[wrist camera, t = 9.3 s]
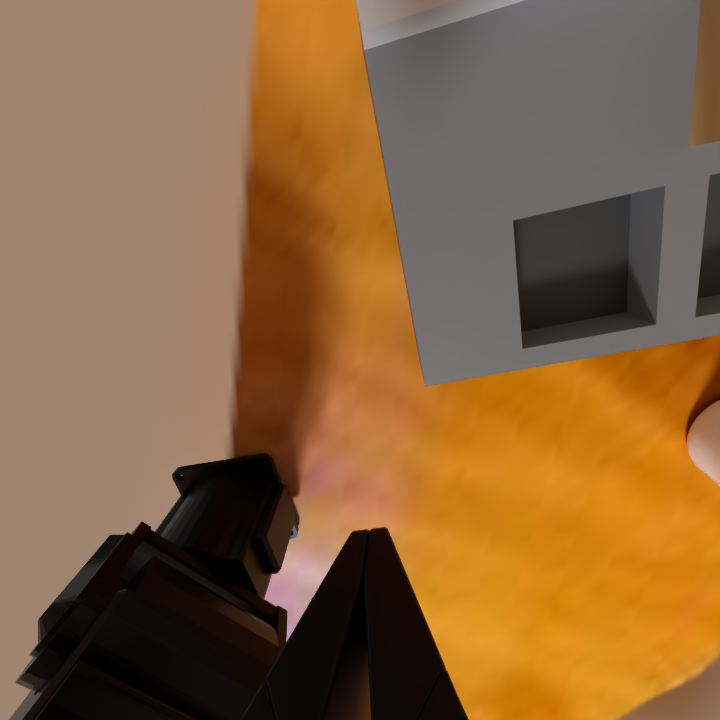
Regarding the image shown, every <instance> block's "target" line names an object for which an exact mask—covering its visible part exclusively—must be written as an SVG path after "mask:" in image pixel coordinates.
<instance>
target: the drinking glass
mask: <svg viewBox="0 0 720 720" xmlns="http://www.w3.org/2000/svg"><path fill="white" fill-rule="evenodd" d="M687 450H688V454H689V456H690V458H691V460H692V461H693V463H694V464H695V465H696V466H697V467H698V468H699V469H700V470H701V471H702V472H703V473H704V474H706V475H707V476H708V477H709V478H710V479H712V480H713V481H714V482H715V483H717V484H718V485H719V486H720V400H718V401H716V402H714V403H713V404H711V405H710V406H709V407H707V408H706V409H705V410H704V411H703V412H701V413H700V415H699V416H698V417H697V418H696V419H695V421H694V422H693V424H692V425H691V427H690V430H689V432H688V436H687Z"/></svg>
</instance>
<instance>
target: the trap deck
mask: <svg viewBox="0 0 720 720" xmlns="http://www.w3.org/2000/svg"><path fill="white" fill-rule="evenodd" d="M356 4H357V11H358V18H359V25H360V33H361V40H362V47H363V53H364V59H365V64H366V69H367V75H368V80H369V86H370V91H371V97H372V102H373V108H374V113H375V119H376V124H377V129H378V135H379V140H380V146H381V151H382V157H383V162H384V168H385V173H386V179H387V184H388V190H389V195H390V200H391V206H392V211H393V217H394V222H395V228H396V233H397V239H398V244H399V250H400V255H401V260H402V266H403V271H404V277H405V282H406V288H407V293H408V299H409V304H410V310H411V315H412V321H413V326H414V331H415V337H416V342H417V348H418V353H419V359H420V364H421V369H422V373H423V378H424V382H425V386H430V385H436V384H442V383H447V382H453V381H459V380H465V379H470V378H476V377H482V376H488V375H493V374H499V373H505V372H511V371H516V370H522V369H528V368H533V367H539V366H545V365H551V364H556V363H562V362H568V361H574V360H579V359H585V358H591V357H597V356H602V355H608V354H614V353H619V352H625V351H631V350H637V349H642V348H648V347H654V346H660V345H665V344H671V343H677V342H682V341H688V340H694V339H700V338H705V337H711V336H717V335H720V141H717V142H712V143H707V144H702V145H697V146H692V147H690V135H691V121H692V108H693V94H694V81H695V67H696V54H697V40H698V27H699V13H700V0H356Z"/></svg>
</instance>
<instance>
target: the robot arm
mask: <svg viewBox="0 0 720 720" xmlns="http://www.w3.org/2000/svg"><path fill="white" fill-rule="evenodd" d="M261 461H264V462H266V463H267V464H264V463H262V462H261ZM180 474H181V475H183V476H181V475H180ZM172 477H173V480H174V482H175V484H176V486H177V488H178V490H179V492H180V494H181V496H180V498H179V499H178V501H177V502H176V503H175V505H174V506H173V508H172V509H171V510H170V512H169V513H168V515H167V516H166V517H165V519H164V520H163V522H162V523H161V524H160V526H159V527H158V529H157V530H156V531H155V532H154V531H152V530H151V527H150V526H149V525H147V524H145V523H144V522H141V523H140V524H139V525H138V526H137V528H136V529H135V530H134V531H133V532H132V533H131V534H130V533H126V534H125V535H110V536H109V537H108V538H107V539H106V541H105V542H104V543H103V544H102V545H101V546H100V548H99V549H98V550H97V551H96V552H95V554H94V555H93V556H92V557H91V558H90V559H89V561H88V562H87V563H86V564H85V565H84V567H83V568H82V569H81V570H80V571H79V573H78V574H77V575H76V576H75V577H74V579H72V581H71V582H70V583H69V584H68V585H67V586H66V588H65V589H64V590H63V591H62V592H61V594H60V595H59V596H58V597H57V598H56V599H55V600H54V602H53V603H52V604H51V605H50V606H49V608H48V609H47V610H46V611H45V612H44V614H43V615H42V616H41V617H40V618H39V620H38V644H37V645H36V646H35V648H34V649H33V650H32V652H31V653H30V656H32V657H33V658H32V660H31V661H30V663H29V664H28V665H27V667H26V668H25V670H24V671H23V672H22V674H21V675H20V676H19V678H18V679H17V681H16V683H18V684H20V685H22V686H24V687H26V688H28V689H32V690H31V692H30V693H29V694H28V696H27V697H26V699H25V700H24V701H23V702H22V704H21V705H20V706H19V708H18V709H17V710H16V712H15V713H14V714H13V716H12V717H11V718H10V719H9V720H469V719H468V717H467V715H466V713H465V711H464V708H463V706H462V704H461V702H460V700H459V697H458V695H457V693H456V691H455V688H454V686H453V683H452V681H451V679H450V676H449V674H448V672H447V671H446V668H445V665H444V662H443V660H442V658H441V655H440V653H439V650H438V648H437V646H436V643H435V641H434V638H433V636H432V634H431V631H430V629H429V627H428V624H427V622H426V619H425V617H424V615H423V612H422V610H421V607H420V605H419V603H418V600H417V598H416V595H415V593H414V591H413V588H412V586H411V584H410V581H409V579H408V576H407V574H406V572H405V569H404V567H403V564H402V562H401V560H400V557H399V555H398V552H397V550H396V548H395V545H394V543H393V541H392V538H391V536H390V533H389V531H388V529H387V528H386V527H382V528H374V529H371V530H370V531H369V530H367V529H366V530H357V531H353V532H352V533H351V534H350V536H349V537H348V539H347V541H346V542H345V544H344V546H343V547H342V549H341V551H340V553H339V554H338V556H337V558H336V559H335V561H334V563H333V564H332V566H331V568H330V569H329V571H328V573H327V575H326V576H325V578H324V580H323V581H322V583H321V585H320V586H319V588H318V590H317V592H316V593H315V595H314V597H313V598H312V600H311V602H310V603H309V605H308V607H307V609H306V610H305V612H304V614H303V615H302V617H301V619H300V620H299V622H298V624H297V626H296V627H295V629H294V631H293V632H292V634H291V636H290V637H289V639H288V641H287V642H286V637H287V610H285V609H283V608H282V607H280V606H275V605H273V604H271V603H270V602H268V601H266V600H265V599H264V598H265V595H266V591H267V588H268V585H269V582H270V579H271V575H272V574H277V573H278V572H279V571H280V569H281V567H282V563H283V560H284V556H285V553H286V550H287V546H288V543H289V539H292V538H295V537H296V536H297V533H298V530H299V529H298V525H297V522H296V520H295V518H296V513H295V510H294V507H293V505H292V502H291V499H290V497H289V494H288V491H287V489H286V486H285V485H284V484H283V483H282V482H281V480H280V477H279V475H278V472H277V469H276V467H275V464H274V461H273V459H272V457H271V456H269V455H268V454H258V455H252V456H245V457H239V458H233V459H226V460H220V461H214V462H208V463H201V464H195V465H189V466H183V467H178V468H177V469H176V470H175V472H174V473H173V474H172Z"/></svg>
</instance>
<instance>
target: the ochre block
mask: <svg viewBox="0 0 720 720" xmlns="http://www.w3.org/2000/svg"><path fill="white" fill-rule="evenodd" d="M717 141H720V0H700V13H699V27H698V40H697V54H696V67H695V81H694V94H693V108H692V121H691V135H690V147H692V146H697V145H702V144H707V143H712V142H717Z"/></svg>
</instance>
